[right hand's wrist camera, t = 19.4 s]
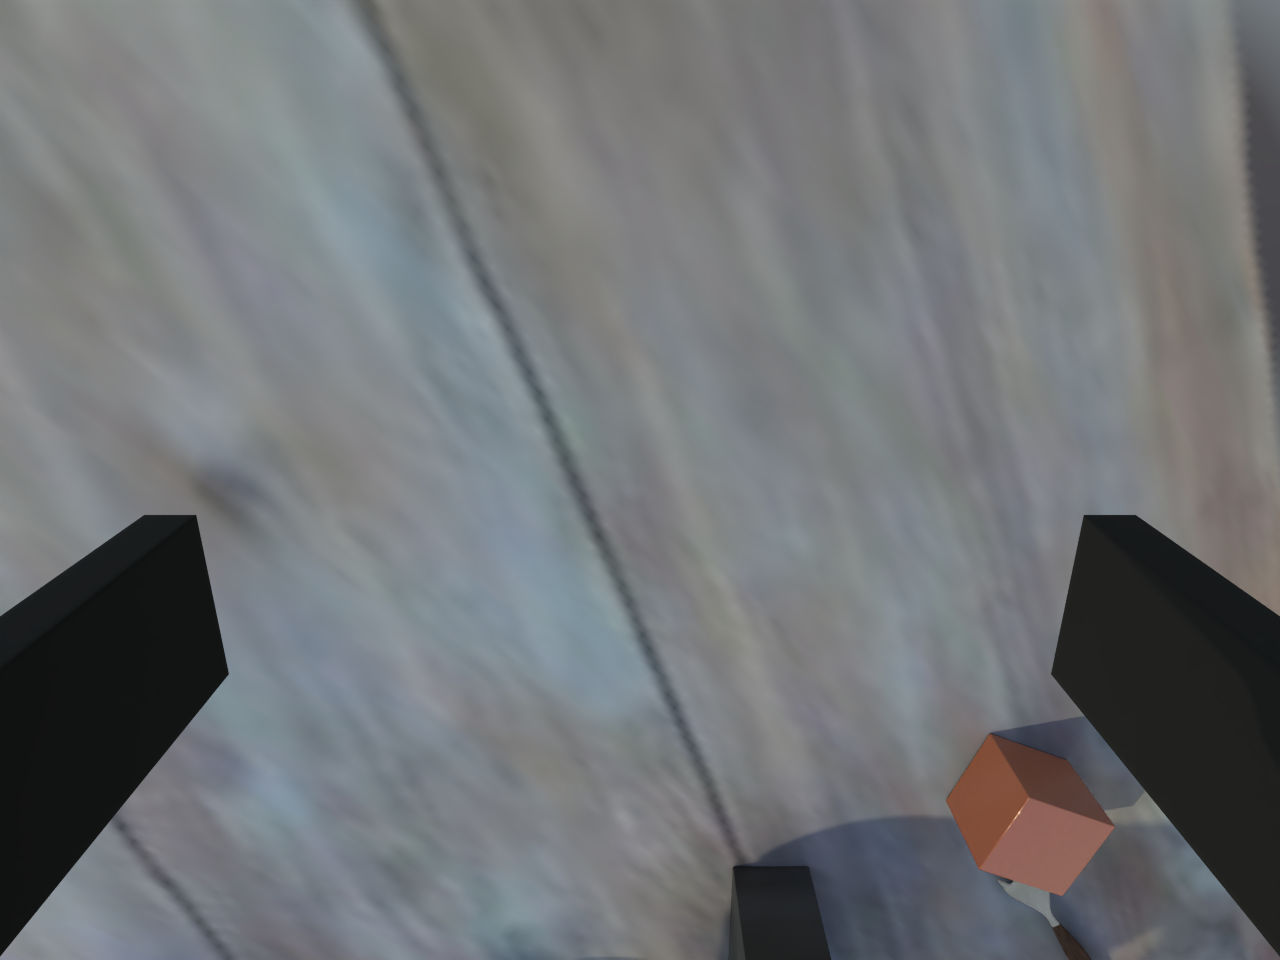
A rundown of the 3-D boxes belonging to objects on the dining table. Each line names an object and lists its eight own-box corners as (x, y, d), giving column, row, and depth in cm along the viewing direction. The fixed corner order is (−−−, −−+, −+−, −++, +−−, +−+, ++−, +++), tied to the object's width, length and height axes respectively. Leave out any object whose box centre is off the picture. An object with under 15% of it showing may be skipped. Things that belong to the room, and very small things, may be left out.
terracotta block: (989, 732, 46) (1029, 797, 41) (1067, 760, 46) (1116, 826, 42) (945, 800, 47) (978, 869, 43) (1021, 825, 48) (1062, 896, 43)
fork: (1094, 1012, 53) (1110, 1044, 51) (980, 855, 49) (994, 883, 47) (1132, 996, 53) (1150, 1026, 51) (1021, 835, 48) (1036, 862, 46)
